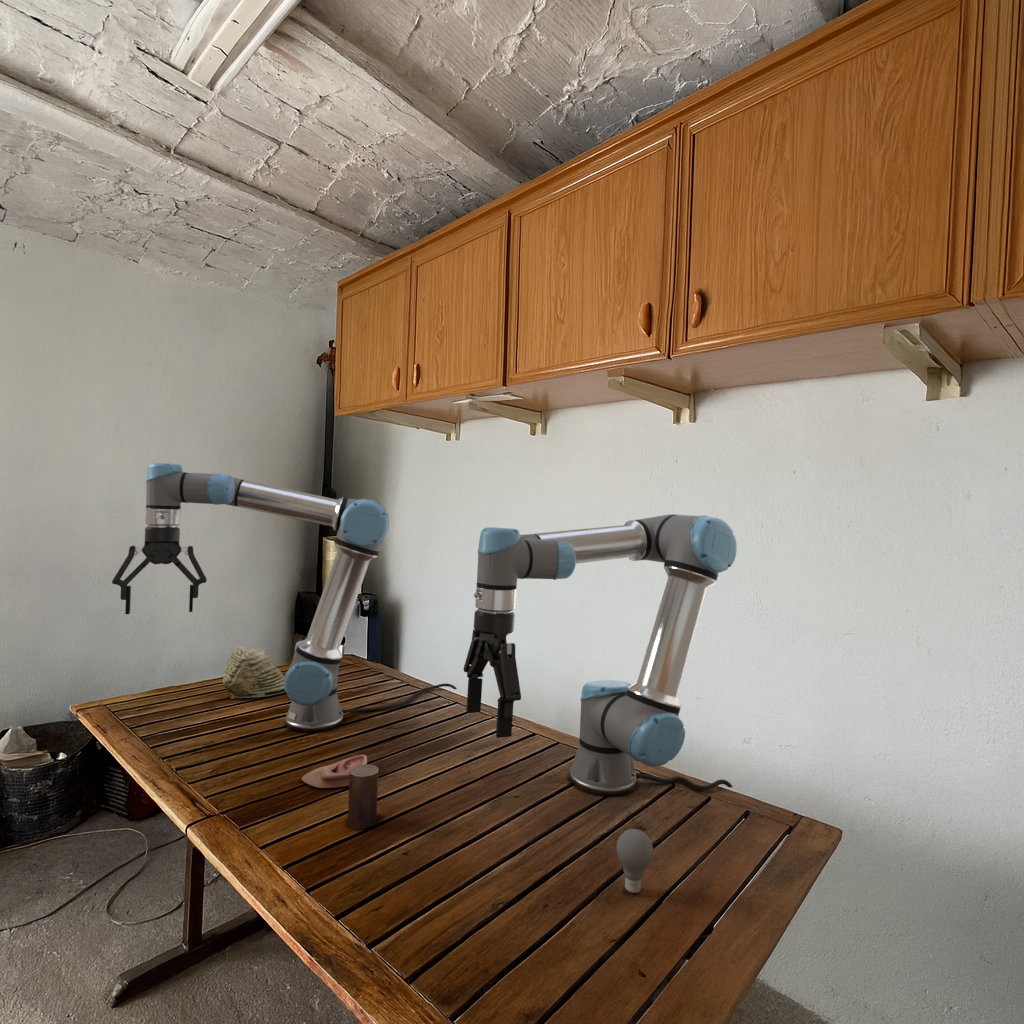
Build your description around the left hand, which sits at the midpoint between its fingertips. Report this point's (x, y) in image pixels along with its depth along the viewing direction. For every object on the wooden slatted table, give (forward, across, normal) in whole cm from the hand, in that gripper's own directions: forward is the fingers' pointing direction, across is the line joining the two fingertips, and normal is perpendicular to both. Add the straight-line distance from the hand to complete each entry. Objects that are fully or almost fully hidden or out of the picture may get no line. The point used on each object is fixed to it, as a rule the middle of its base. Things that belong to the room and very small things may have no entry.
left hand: (159, 612), depth 156 cm
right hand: (+10, +58, -70) cm, 92 cm away
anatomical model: (+33, +37, -34) cm, 60 cm away
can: (+33, +39, -55) cm, 75 cm away
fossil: (+33, +25, +34) cm, 54 cm away
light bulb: (+33, +75, -94) cm, 124 cm away
